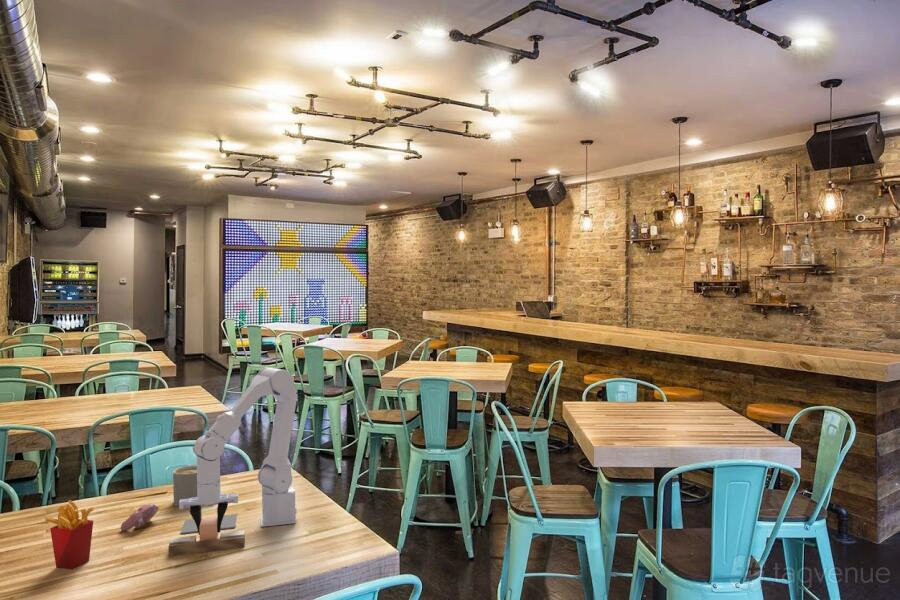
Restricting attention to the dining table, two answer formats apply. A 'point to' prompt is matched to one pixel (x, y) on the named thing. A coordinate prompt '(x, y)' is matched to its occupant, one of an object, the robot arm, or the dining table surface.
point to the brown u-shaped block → (206, 543)
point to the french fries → (71, 536)
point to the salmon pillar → (208, 527)
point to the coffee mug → (184, 483)
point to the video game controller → (140, 517)
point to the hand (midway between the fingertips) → (209, 532)
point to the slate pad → (190, 524)
